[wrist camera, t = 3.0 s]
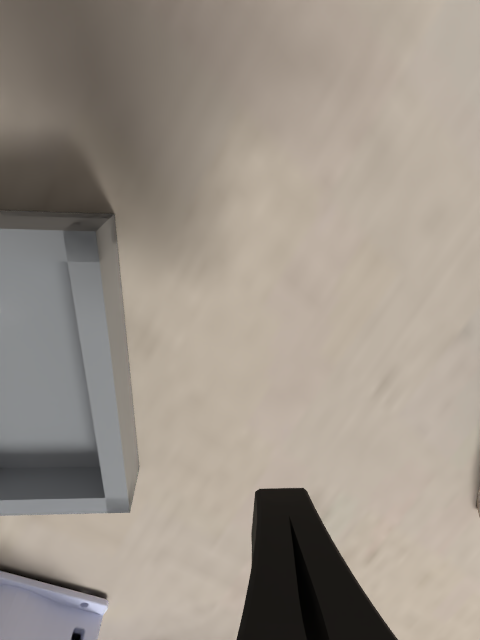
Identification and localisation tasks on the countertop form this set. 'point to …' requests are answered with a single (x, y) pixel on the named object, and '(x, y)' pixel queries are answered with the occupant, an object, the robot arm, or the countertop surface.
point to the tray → (64, 367)
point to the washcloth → (478, 502)
